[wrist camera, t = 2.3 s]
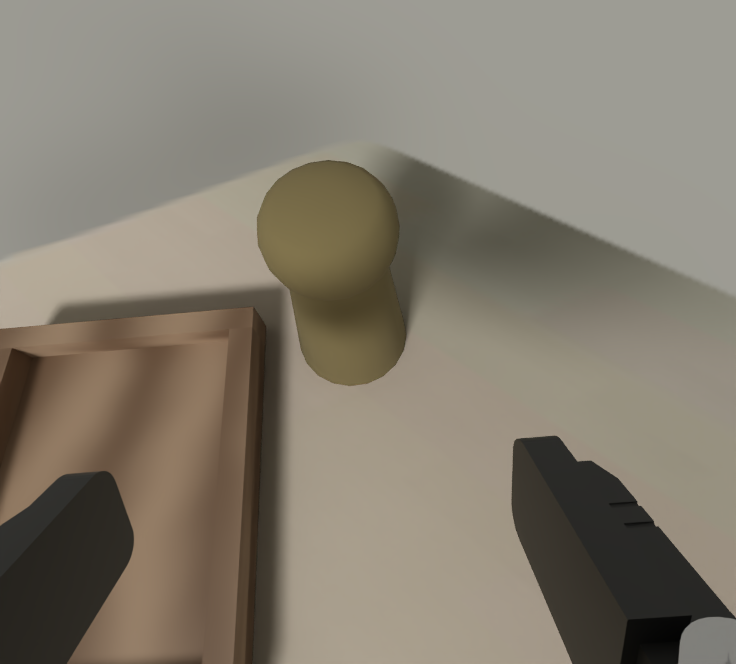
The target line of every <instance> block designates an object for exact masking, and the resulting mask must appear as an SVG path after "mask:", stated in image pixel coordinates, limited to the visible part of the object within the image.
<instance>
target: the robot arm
mask: <svg viewBox="0 0 736 664" xmlns="http://www.w3.org/2000/svg"><path fill="white" fill-rule="evenodd" d="M512 513H513V519H514V524H515V528H516V531H517V534H518V537H519V539H520V542H521V544H522V546H523V549H524V551H525V553H526V556H527V558H528V560H529V563H530V565H531V567H532V570H533V572H534V575H535V577H536V579H537V582H538V584H539V586H540V589H541V591H542V593H543V596H544V598H545V600H546V603H547V605H548V607H549V610H550V612H551V614H552V617H553V619H554V621H555V624H556V626H557V628H558V631H559V633H560V635H561V638H562V640H563V642H564V645H565V647H566V650H567V652H568V654H569V657H570V659H571V661H572V664H736V618H735V616H734V615H733V614H732V613H731V612H730V611H729V610H728V609H727V607H726V606H725V605H724V604H723V603H722V602H721V600H720V599H719V598H718V597H717V596H716V594H715V593H714V592H713V591H712V590H711V588H710V587H709V586H708V585H707V584H706V582H705V581H704V580H703V579H702V578H701V577H700V575H699V574H698V573H697V572H696V571H695V569H694V568H693V567H692V566H691V565H690V563H689V562H688V561H687V560H686V559H685V558H684V556H683V555H682V554H681V553H680V552H679V550H678V549H677V548H676V547H675V546H674V544H673V543H672V542H671V541H670V540H669V539H668V537H667V536H666V535H665V534H664V533H663V531H662V530H661V529H660V528H659V527H658V526H657V527H656V526H655V525H654V521H653V520H652V518H651V517H650V516H649V515H648V514H647V512H646V511H645V510H644V509H643V508H642V506H638V504H637V501H636V499H635V498H634V497H633V496H632V495H631V493H630V492H629V491H628V490H627V489H626V487H625V486H624V485H623V484H622V483H621V482H620V480H619V479H618V478H616V477H615V476H613V475H612V474H610V473H609V472H607V471H606V470H604V469H603V468H601V467H600V466H598V465H597V464H595V463H594V462H592V461H580V462H577V461H576V459H575V458H574V457H573V455H572V454H571V453H570V451H569V450H568V449H567V447H566V446H565V445H564V443H563V442H562V441H561V439H560V438H559V437H557V436H546V437H533V438H521V439H516V440H515V442H514V446H513V471H512ZM133 546H134V533H133V528H132V526H131V523H130V520H129V517H128V514H127V512H126V509H125V506H124V503H123V500H122V498H121V495H120V492H119V489H118V487H117V484H116V481H115V479H114V477H113V475H112V474H111V473H109V472H107V471H97V472H84V473H72V474H65V475H62V476H61V477H59V478H58V479H57V480H56V481H55V482H54V483H52V484H51V485H50V486H49V487H48V488H47V489H46V490H45V491H44V492H43V493H42V494H41V495H40V496H39V497H38V498H37V499H36V500H35V501H34V502H33V503H32V504H31V505H30V506H29V507H27V508H26V509H24V510H23V511H21V512H20V513H18V514H17V515H15V516H14V517H12V518H11V519H9V520H8V521H6V522H5V523H3V524H2V525H0V664H67V662H68V661H69V659H70V658H71V656H72V654H73V653H74V651H75V649H76V648H77V646H78V645H79V643H80V641H81V640H82V638H83V636H84V635H85V633H86V632H87V630H88V628H89V627H90V625H91V623H92V622H93V620H94V619H95V617H96V615H97V614H98V612H99V610H100V609H101V607H102V606H103V604H104V602H105V601H106V599H107V597H108V596H109V594H110V593H111V591H112V589H113V588H114V586H115V585H116V583H117V581H118V580H119V578H120V576H121V575H122V573H123V572H124V570H125V568H126V567H127V565H128V563H129V561H130V558H131V555H132V552H133Z"/></svg>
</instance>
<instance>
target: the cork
mask: <svg viewBox="0 0 736 664" xmlns="http://www.w3.org/2000/svg"><path fill="white" fill-rule="evenodd" d="M257 237H258V246H259V248H260V251H261V253H262V255H263V257H264V260H265V262H266V264H267V266H268V268H269V270H270V271H271V272H272V273H273V274H274V275H275V276H276V277H277V278H278V279H279V280H280V281H281V282H282V283H283V284H284V285H285V286H286V287H287V288H288V289H290V294H291V299H292V305H293V310H294V315H295V320H296V325H297V331H298V336H299V341H300V346H301V350H302V353H303V355H304V357H305V360H306V362H307V364H308V365H309V366H310V367H311V368H312V369H313V370H314V371H315V372H316V374H317V375H319V376H320V377H322V378H324V379H326V380H328V381H330V382H332V383H336V384H342V385H348V386H353V385H360V384H367V383H369V382H372V381H374V380H376V379H378V378H380V377H382V376H384V375H385V374H386V373H387V372H388V371H389V370H390V369H391V368H393V367H394V366H395V365H396V363H397V361H398V359H399V358H400V356H401V354H402V352H403V350H404V345H405V339H406V331H405V326H404V320H403V316H402V313H401V309H400V305H399V301H398V298H397V294H396V290H395V287H394V283H393V279H392V275H391V272H390V268H389V266H390V264H391V263H392V261H393V258H394V256H395V254H396V249H397V244H398V239H399V221H398V216H397V210H396V207H395V204H394V201H393V199H392V197H391V196H390V194H389V193H388V191H387V189H386V188H385V186H384V185H383V184H382V183H381V182H380V181H379V180H378V179H377V178H376V177H374V176H373V175H372V174H370V173H369V172H368V171H366V170H365V169H364V168H362V167H359V166H356V165H353V164H351V163H348V162H341V161H331V160H326V161H319V162H312V163H308V164H305V165H303V166H300V167H298V168H295V169H292V170H291V171H289V172H288V173H287V174H285V175H284V176H282V177H281V178H279V179H278V180H277V181H276V182H275V183H274V185H273V186H272V187H271V188H270V190H269V191H268V192H267V193H266V196H265V198H264V200H263V203H262V206H261V208H260V211H259V214H258V216H257Z"/></svg>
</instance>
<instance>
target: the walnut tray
mask: <svg viewBox="0 0 736 664" xmlns="http://www.w3.org/2000/svg"><path fill="white" fill-rule="evenodd" d="M265 342H266V325H265V324H264V322H263V321H262V319H261V318H260V316H259V315H258V313H257V311H256V310H255V308H254V307H244V308H233V309H222V310H210V311H199V312H188V313H176V314H165V315H154V316H142V317H131V318H120V319H108V320H97V321H86V322H74V323H63V324H52V325H40V326H29V327H18V328H6V329H0V525H2V524H3V523H5V522H6V521H8V520H9V519H11V518H12V517H14V516H15V515H17V514H18V513H20V512H21V511H23V510H24V509H26V508H27V507H29V506H30V505H31V504H32V503H33V502H34V501H35V500H36V499H37V498H38V497H39V496H40V495H41V494H42V493H43V492H44V491H45V490H46V489H47V488H48V487H49V486H50V485H51V484H52V483H54V482H55V481H56V480H57V479H58V478H59V477H61V476H62V475H65V474H72V473H84V472H97V471H107V472H109V473H111V474H112V475H113V477H114V479H115V481H116V484H117V487H118V489H119V492H120V495H121V498H122V500H123V503H124V506H125V509H126V512H127V514H128V517H129V520H130V523H131V526H132V528H133V533H134V546H133V552H132V555H131V558H130V561H129V563H128V565H127V567H126V568H125V570H124V572H123V573H122V575H121V576H120V578H119V580H118V581H117V583H116V585H115V586H114V588H113V589H112V591H111V593H110V594H109V596H108V597H107V599H106V601H105V602H104V604H103V606H102V607H101V609H100V610H99V612H98V614H97V615H96V617H95V619H94V620H93V622H92V623H91V625H90V627H89V628H88V630H87V632H86V633H85V635H84V636H83V638H82V640H81V641H80V643H79V645H78V646H77V648H76V649H75V651H74V653H73V654H72V656H71V658H70V659H69V661H68V662H67V664H252V657H253V633H254V609H255V584H256V560H257V536H258V512H259V487H260V463H261V439H262V415H263V390H264V366H265Z"/></svg>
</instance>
